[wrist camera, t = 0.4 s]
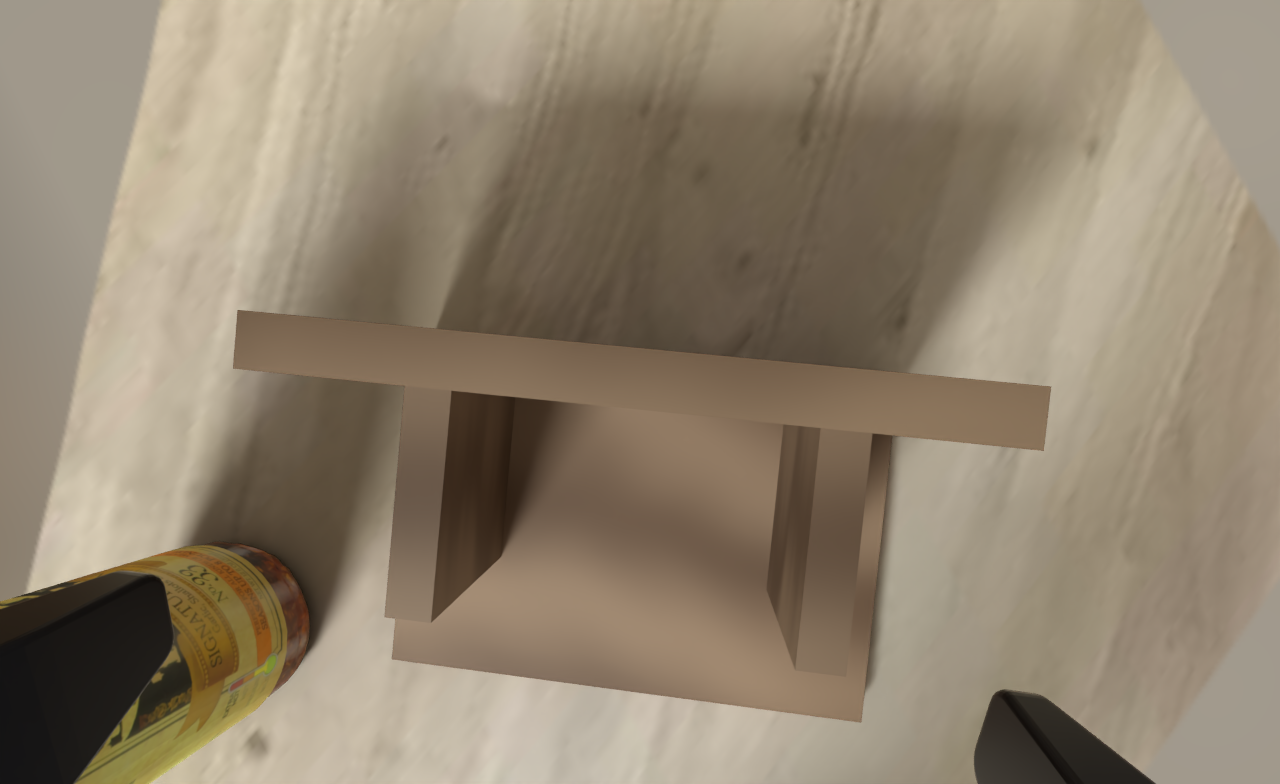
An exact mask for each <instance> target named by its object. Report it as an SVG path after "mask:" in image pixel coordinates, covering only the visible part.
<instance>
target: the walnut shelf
mask: <svg viewBox="0 0 1280 784" xmlns="http://www.w3.org/2000/svg"><path fill="white" fill-rule="evenodd" d="M233 369H243V370H253V371H263V372H273V373H283V374H293V375H302V376H312V377H322V378H332V379H342V380H352V381H362V382H371V383H381V384H391V385H401V386H405V387H404V399H403V410H402V422H401V433H400V445H399V456H398V468H397V479H396V491H395V502H394V514H393V525H392V537H391V548H390V560H389V571H388V583H387V595H386V606H385V617H387V618H395V630H394V641H393V653H392V659H394V660H401V661H408V662H416V663H423V664H431V665H438V666H446V667H453V668H460V669H468V670H475V671H483V672H490V673H498V674H505V675H512V676H520V677H527V678H535V679H542V680H550V681H557V682H564V683H572V684H579V685H587V686H594V687H602V688H609V689H616V690H624V691H631V692H639V693H646V694H654V695H661V696H668V697H676V698H683V699H691V700H698V701H706V702H713V703H720V704H728V705H735V706H743V707H750V708H758V709H765V710H772V711H780V712H787V713H795V714H802V715H810V716H817V717H824V718H832V719H839V720H847V721H854V722H861V720H862V710H863V701H864V692H865V683H866V673H867V664H868V655H869V646H870V637H871V627H872V618H873V609H874V600H875V591H876V581H877V572H878V563H879V554H880V545H881V535H882V526H883V517H884V508H885V498H886V489H887V480H888V471H889V462H890V452H891V443H892V435H894V436H903V437H913V438H923V439H933V440H943V441H953V442H963V443H972V444H982V445H992V446H1002V447H1012V448H1022V449H1031V450H1041V451H1044V444H1045V435H1046V426H1047V418H1048V409H1049V400H1050V392H1051V387H1049V386H1038V385H1028V384H1017V383H1006V382H996V381H985V380H975V379H964V378H953V377H943V376H932V375H922V374H911V373H900V372H890V371H879V370H868V369H858V368H847V367H837V366H826V365H815V364H805V363H794V362H784V361H773V360H762V359H752V358H741V357H731V356H720V355H709V354H699V353H688V352H678V351H667V350H656V349H646V348H635V347H624V346H614V345H603V344H593V343H582V342H571V341H561V340H550V339H540V338H529V337H518V336H508V335H497V334H487V333H476V332H465V331H455V330H444V329H434V328H423V327H412V326H402V325H391V324H380V323H370V322H359V321H349V320H338V319H327V318H317V317H306V316H296V315H285V314H274V313H264V312H253V311H243V310H238V312H237V325H236V337H235V350H234V363H233Z"/></svg>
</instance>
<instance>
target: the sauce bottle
mask: <svg viewBox="0 0 1280 784" xmlns="http://www.w3.org/2000/svg"><path fill="white" fill-rule="evenodd" d="M116 571H134V572H141V573H148V574H153V575H156V576H158V577H159V578H160V579H161V580H162V581H163V583H164V585H165V588H166V593H167V599H168V604H169V609H170V614H171V619H172V624H173V629H174V643H173V646H172V649H171V651H170V654H169V656H168V657H167V659H166V661H165V662H164V663H163V665H162V666H161V667H160V669H159V670H158V672H157V673H156V674H155V676H154V677H153V678H152V680H151V681H150V682H149V684H148V685H147V687H146V688H145V689H144V691H143V692H142V693H141V695H140V696H139V697H138V699H137V700H136V702H135V703H134V704H133V706H132V707H131V708H130V710H129V711H128V713H127V714H126V715H125V717H124V718H123V719H122V721H121V722H120V723H119V725H118V726H117V728H116V729H115V730H114V732H113V733H112V734H111V736H110V737H109V738H108V740H107V741H106V743H105V744H104V745H103V747H102V748H101V749H100V751H99V752H98V754H97V755H96V756H95V758H94V759H93V760H92V762H91V763H90V764H89V766H88V767H87V769H86V770H85V771H84V773H83V774H82V775H81V776H80V778H79V779H78V780H77V782H76V783H75V784H150V783H151V782H153V781H154V780H156V779H157V778H159V777H160V776H161V775H163V774H164V773H166V772H167V771H169V770H170V769H172V768H173V767H174V766H176V765H177V764H179V763H180V762H182V761H183V760H185V759H186V758H187V757H189V756H190V755H192V754H193V753H195V752H196V751H197V750H199V749H200V748H202V747H203V746H205V745H206V744H207V743H209V742H210V741H212V740H213V739H215V738H216V737H218V736H219V735H220V734H222V733H223V732H225V731H226V730H228V729H229V728H230V727H232V726H233V725H235V724H236V723H238V722H239V721H241V720H242V719H243V718H245V717H246V716H248V715H249V714H251V713H252V712H253V711H255V710H256V709H257V708H258V707H259V706H260V705H261V704H262V703H263V702H264V701H265V699H266V698H267V697H269V696H270V695H271V694H272V693H274V692H275V691H276V690H278V689H279V688H280V687H281V686H282V685H283V684H284V683H285V682H287V681H288V679H289V678H290V677H291V676H292V675H293V674H294V672H295V671H296V669H297V668H298V667H299V665H300V663H301V661H302V659H303V656H304V654H305V651H306V647H307V644H308V641H309V634H310V633H309V628H310V624H309V611H308V608H307V605H306V602H305V599H304V597H303V594H302V590H301V589H300V587H299V584H298V583H297V581H296V579H295V578H294V577H293V576H292V574H291V571H290V570H289V568H287V567H285V566H283V565H282V563H281V561H280V560H279V559H278V558H277V557H275V556H273V555H270V554H268V553H266V552H265V551H263V550H260V549H257V548H254V547H250V546H246V545H243V544H232V543H226V542H213V543H208V544H205V545H201V546H188V547H183V548H179V549H175V550H172V551H168V552H165V553H161V554H158V555H154V556H151V557H148V558H144V559H141V560H138V561H134V562H131V563H128V564H124V565H121V566H118V567H114V568H111V569H108V570H104V571H101V572H97V573H93V574H90V575H87V576H84V577H80V578H77V579H74V580H71V581H67V582H64V583H61V584H57V585H54V586H51V587H47V588H44V589H41V590H38V591H34V592H31V593H28V594H24V595H21V596H18V597H15V598H12V599H8V600H4V601H1V602H0V609H2V608H5V607H8V606H11V605H14V604H17V603H20V602H23V601H26V600H29V599H32V598H35V597H38V596H41V595H44V594H47V593H51V592H54V591H57V590H60V589H63V588H66V587H69V586H72V585H75V584H78V583H81V582H84V581H87V580H90V579H93V578H96V577H99V576H103V575H106V574H109V573H112V572H116Z"/></svg>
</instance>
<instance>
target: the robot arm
mask: <svg viewBox="0 0 1280 784" xmlns="http://www.w3.org/2000/svg"><path fill="white" fill-rule="evenodd" d="M173 643H174V629H173V624H172V619H171V614H170V609H169V604H168V599H167V593H166V588H165V585H164V583H163V581H162V580H161V579H160V578H159V577H158V576H156V575H153V574H148V573H141V572H134V571H116V572H112V573H109V574H106V575H103V576H99V577H96V578H93V579H90V580H87V581H84V582H81V583H78V584H75V585H72V586H69V587H66V588H63V589H60V590H57V591H54V592H51V593H47V594H44V595H41V596H38V597H35V598H32V599H29V600H26V601H23V602H20V603H17V604H14V605H11V606H8V607H5V608H2V609H0V784H75V783H76V782H77V780H78V779H79V778H80V776H81V775H82V774H83V773H84V771H85V770H86V769H87V767H88V766H89V764H90V763H91V762H92V760H93V759H94V758H95V756H96V755H97V754H98V752H99V751H100V749H101V748H102V747H103V745H104V744H105V743H106V741H107V740H108V738H109V737H110V736H111V734H112V733H113V732H114V730H115V729H116V728H117V726H118V725H119V723H120V722H121V721H122V719H123V718H124V717H125V715H126V714H127V713H128V711H129V710H130V708H131V707H132V706H133V704H134V703H135V702H136V700H137V699H138V697H139V696H140V695H141V693H142V692H143V691H144V689H145V688H146V687H147V685H148V684H149V682H150V681H151V680H152V678H153V677H154V676H155V674H156V673H157V672H158V670H159V669H160V667H161V666H162V665H163V663H164V662H165V661H166V659H167V657H168V656H169V654H170V651H171V649H172V646H173ZM974 768H975V775H976V780H977V783H978V784H1155V783H1154V782H1153V781H1152V780H1151V779H1149V778H1148V777H1147V776H1145V775H1144V774H1143V773H1142V772H1140V771H1139V770H1138V769H1136V768H1135V767H1134V766H1133V765H1131V764H1130V763H1129V762H1127V761H1126V760H1125V759H1124V758H1122V757H1121V756H1120V755H1119V754H1117V753H1116V752H1115V751H1113V750H1112V749H1111V748H1110V747H1108V746H1107V745H1106V744H1104V743H1103V742H1102V741H1101V740H1099V739H1098V738H1097V737H1096V736H1094V735H1093V734H1092V733H1090V732H1089V731H1088V730H1087V729H1085V728H1084V727H1083V726H1081V725H1080V724H1079V723H1078V722H1076V721H1075V720H1074V719H1072V718H1071V717H1070V716H1069V715H1067V714H1066V713H1065V712H1064V711H1062V710H1061V709H1060V708H1058V707H1057V706H1056V705H1055V704H1053V703H1052V702H1051V701H1049V700H1048V699H1047V698H1045V697H1043V696H1041V695H1038V694H1035V693H1027V692H1020V691H1013V690H1000V691H997V692H996V693H995V694H994V695H993V697H992V699H991V701H990V704H989V707H988V710H987V713H986V717H985V720H984V723H983V726H982V729H981V732H980V735H979V738H978V742H977V745H976V748H975V754H974Z"/></svg>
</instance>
